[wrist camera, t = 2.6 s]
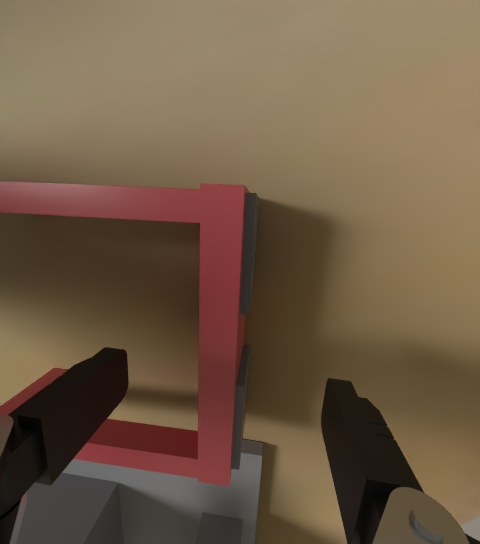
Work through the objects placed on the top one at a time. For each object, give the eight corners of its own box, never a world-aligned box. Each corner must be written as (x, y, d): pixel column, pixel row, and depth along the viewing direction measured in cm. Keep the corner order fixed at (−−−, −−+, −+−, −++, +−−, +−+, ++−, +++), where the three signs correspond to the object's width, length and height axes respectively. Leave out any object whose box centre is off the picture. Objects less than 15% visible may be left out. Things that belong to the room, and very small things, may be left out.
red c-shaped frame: (259, 196, 13) (255, 185, 9) (246, 408, 17) (237, 487, 12) (26, 186, 15) (-92, 172, 10) (56, 384, 18) (-22, 447, 13)
